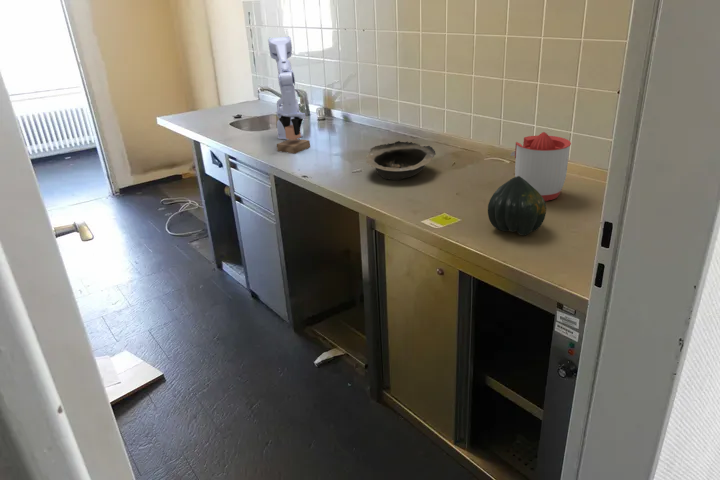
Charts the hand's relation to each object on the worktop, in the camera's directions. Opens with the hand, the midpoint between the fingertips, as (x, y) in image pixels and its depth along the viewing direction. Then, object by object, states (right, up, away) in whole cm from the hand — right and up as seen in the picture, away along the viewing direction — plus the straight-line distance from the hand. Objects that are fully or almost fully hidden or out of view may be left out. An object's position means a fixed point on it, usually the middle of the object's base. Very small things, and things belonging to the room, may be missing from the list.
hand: (292, 134), depth 231 cm
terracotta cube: (0, -1, +1) cm, 2 cm away
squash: (+71, -42, -83) cm, 117 cm away
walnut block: (0, -6, +3) cm, 7 cm away
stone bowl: (+43, -22, -36) cm, 60 cm away
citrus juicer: (+84, -31, -62) cm, 109 cm away
